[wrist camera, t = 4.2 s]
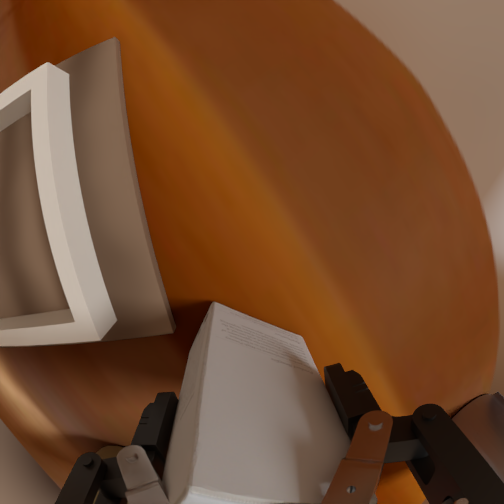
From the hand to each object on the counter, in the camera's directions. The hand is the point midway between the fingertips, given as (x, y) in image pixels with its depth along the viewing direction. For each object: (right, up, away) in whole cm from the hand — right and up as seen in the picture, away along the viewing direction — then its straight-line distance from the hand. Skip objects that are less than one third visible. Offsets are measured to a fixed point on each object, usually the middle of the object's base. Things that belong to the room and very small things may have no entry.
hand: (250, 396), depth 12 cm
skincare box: (0, +1, +5) cm, 5 cm away
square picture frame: (-16, +9, +2) cm, 18 cm away
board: (-16, +9, +2) cm, 18 cm away
